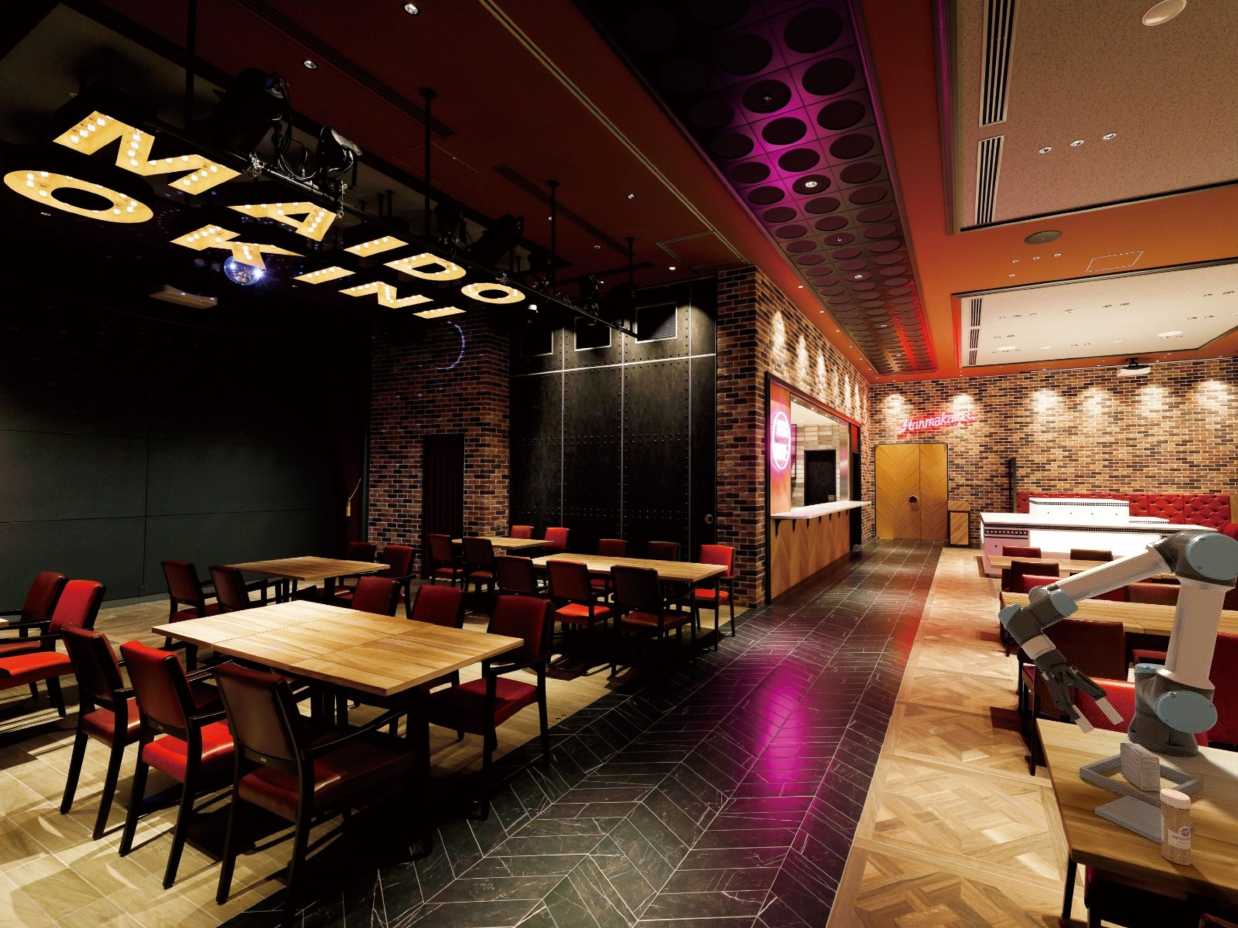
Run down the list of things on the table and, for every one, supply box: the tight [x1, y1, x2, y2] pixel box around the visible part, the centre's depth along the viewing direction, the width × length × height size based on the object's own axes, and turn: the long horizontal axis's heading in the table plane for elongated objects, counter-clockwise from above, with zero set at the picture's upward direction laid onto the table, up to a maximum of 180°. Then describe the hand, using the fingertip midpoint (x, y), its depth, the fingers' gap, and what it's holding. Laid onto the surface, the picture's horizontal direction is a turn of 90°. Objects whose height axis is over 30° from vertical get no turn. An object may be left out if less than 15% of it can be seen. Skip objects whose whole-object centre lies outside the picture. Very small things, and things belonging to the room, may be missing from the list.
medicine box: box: [1119, 742, 1162, 793], centre depth 148 cm, size 8×4×9 cm, turn 168°
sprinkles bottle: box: [1159, 788, 1192, 866], centre depth 119 cm, size 5×5×14 cm
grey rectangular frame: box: [1078, 753, 1204, 809], centre depth 148 cm, size 22×16×2 cm
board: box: [1094, 795, 1194, 844], centre depth 132 cm, size 14×12×1 cm
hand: (1104, 726), depth 154 cm, fingers open, 13 cm apart
